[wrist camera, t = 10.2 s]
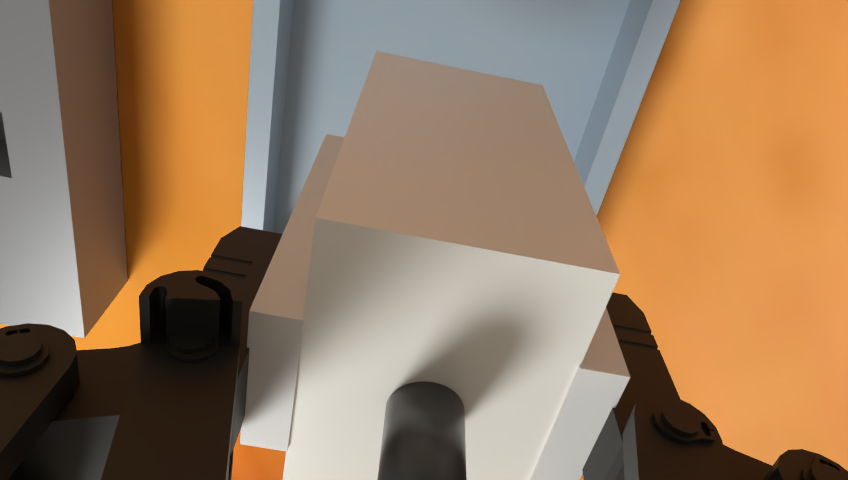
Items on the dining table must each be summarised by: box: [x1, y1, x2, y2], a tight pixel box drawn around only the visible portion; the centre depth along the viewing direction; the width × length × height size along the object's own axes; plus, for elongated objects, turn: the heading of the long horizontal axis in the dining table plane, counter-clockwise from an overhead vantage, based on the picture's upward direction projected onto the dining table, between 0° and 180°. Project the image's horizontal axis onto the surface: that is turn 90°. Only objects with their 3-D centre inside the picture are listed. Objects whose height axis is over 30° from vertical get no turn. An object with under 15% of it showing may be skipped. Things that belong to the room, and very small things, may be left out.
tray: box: [241, 0, 681, 234], centre depth 22 cm, size 18×13×3 cm
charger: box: [283, 51, 620, 480], centre depth 13 cm, size 6×4×12 cm, turn 169°
